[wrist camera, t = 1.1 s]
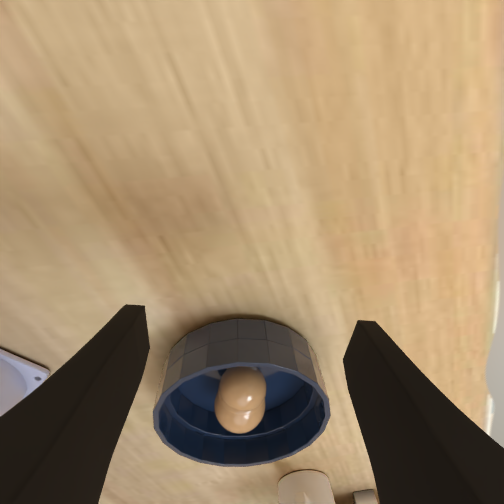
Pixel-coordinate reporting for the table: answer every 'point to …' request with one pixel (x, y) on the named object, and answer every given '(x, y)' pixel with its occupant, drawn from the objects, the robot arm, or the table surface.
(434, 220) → the table surface
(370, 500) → the blocky white rabbit figurine
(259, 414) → the tan double sphere
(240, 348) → the basin
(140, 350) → the robot arm
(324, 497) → the mug
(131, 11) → the table surface
